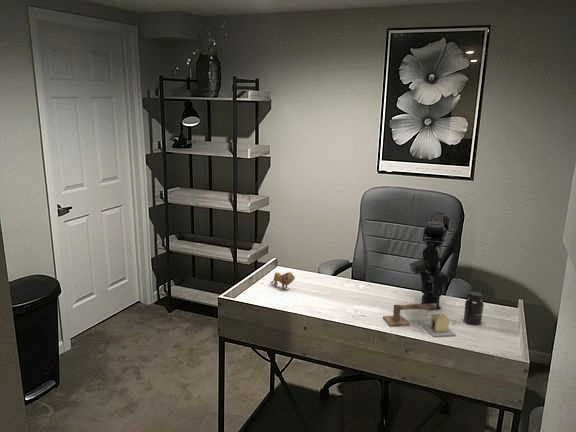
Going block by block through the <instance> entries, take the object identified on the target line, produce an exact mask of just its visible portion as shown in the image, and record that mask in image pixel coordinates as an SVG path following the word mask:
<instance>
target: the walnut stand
mask: <svg viewBox="0 0 576 432" xmlns="http://www.w3.org/2000/svg"><path fill="white" fill-rule="evenodd" d="M433 308H437V305H436V304H435V303H433V304H421V303H417V304H416V303H414V304H413V303H411V304H393V310H392V311H393V313H392V315H383V316H382V318H383V320H384V321H385V323H387V325H388V326H389V327H390V328H394V327H395V328H396V327H410V326H411V325H410V322H409V321H408V320H407V319H406V318H405V317H404V316H403V315H402V314H401V311H402V310H403V311H405V310H434V309H433Z"/></svg>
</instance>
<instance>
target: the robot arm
mask: <svg viewBox="0 0 576 432" xmlns="http://www.w3.org/2000/svg"><path fill="white" fill-rule="evenodd" d="M450 227H451V219H450V218H449V217H448V216H447V213H445V212H443V211H434V212H433V214H432V216H430V217H429V221H428V222H427V223H426V225H425V226H424V229H423V230H424V231H423V235H422V243H425V246H424V248H423V250H422V256H421V259H417V260H416V261H412V262H410V263H409V267H410V271H411V272H412V273H414V274H415V275H419V276H420V281H421V294H422V295H421V302H420V304H433V303H435V304H436V305H437V308H433V309H432V310H440V309H441V308H442V307H441V306H440V298H441V297H442V296H444V292H445V284H447V283H448V282H449V279H450V277H449V276H448V274H446V273H445V272H443V271H441V270H442V269H441V268H440V266H441V264H440V263H441V262H442V261H443V259H442V249H443V244H444V242H446V238H447V236H448V232H449V231H450Z"/></svg>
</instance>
